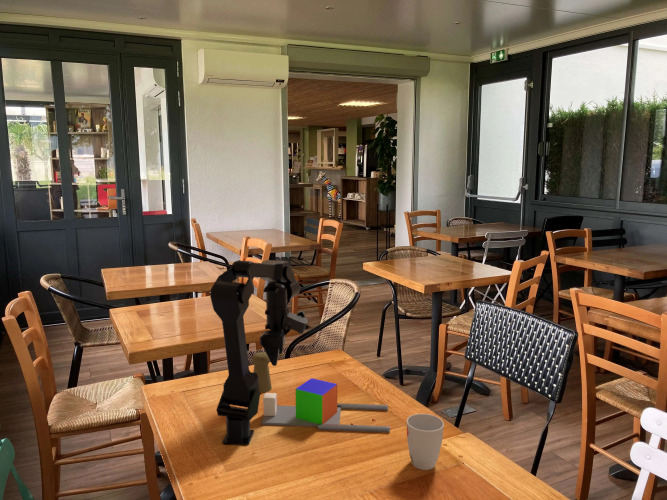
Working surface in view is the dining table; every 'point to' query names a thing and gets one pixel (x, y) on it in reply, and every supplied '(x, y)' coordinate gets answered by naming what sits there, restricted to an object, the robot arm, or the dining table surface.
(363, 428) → the lane rails
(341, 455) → the dining table surface
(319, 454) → the dining table surface
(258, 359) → the cork
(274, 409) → the grey panel with knob
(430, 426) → the cup
